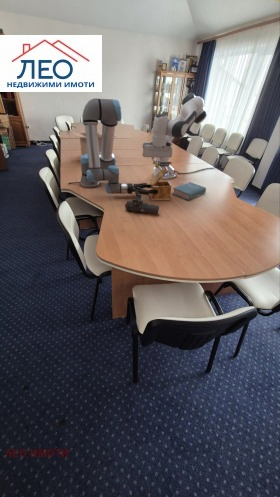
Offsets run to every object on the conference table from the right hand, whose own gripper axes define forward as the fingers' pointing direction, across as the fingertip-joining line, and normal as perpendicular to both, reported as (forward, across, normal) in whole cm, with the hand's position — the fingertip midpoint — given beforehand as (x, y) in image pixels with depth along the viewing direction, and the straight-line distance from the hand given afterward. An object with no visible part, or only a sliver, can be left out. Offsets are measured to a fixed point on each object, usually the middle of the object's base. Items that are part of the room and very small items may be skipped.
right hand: (156, 163), depth 154 cm
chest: (+25, +5, 0) cm, 25 cm away
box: (+25, -48, +94) cm, 109 cm away
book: (+25, +31, +8) cm, 41 cm away
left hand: (+18, +2, 0) cm, 18 cm away
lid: (+9, +3, 0) cm, 10 cm away
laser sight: (+25, -12, -23) cm, 36 cm away
